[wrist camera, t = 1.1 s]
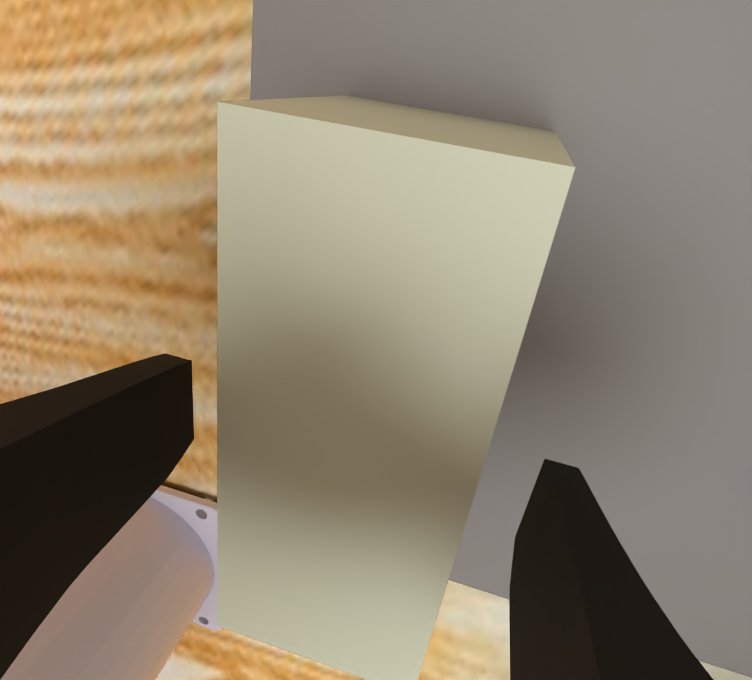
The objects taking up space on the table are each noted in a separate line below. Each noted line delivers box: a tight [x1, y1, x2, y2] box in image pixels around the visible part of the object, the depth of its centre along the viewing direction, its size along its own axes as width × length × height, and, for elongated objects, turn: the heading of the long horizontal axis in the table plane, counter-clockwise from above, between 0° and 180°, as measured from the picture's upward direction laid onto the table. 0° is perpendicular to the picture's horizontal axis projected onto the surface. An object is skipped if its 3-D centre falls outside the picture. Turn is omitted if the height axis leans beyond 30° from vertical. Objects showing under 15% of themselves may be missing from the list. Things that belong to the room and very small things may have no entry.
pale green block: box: [217, 95, 575, 680], centre depth 12 cm, size 5×12×6 cm, turn 173°
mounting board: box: [251, 0, 752, 677], centre depth 15 cm, size 22×18×1 cm
